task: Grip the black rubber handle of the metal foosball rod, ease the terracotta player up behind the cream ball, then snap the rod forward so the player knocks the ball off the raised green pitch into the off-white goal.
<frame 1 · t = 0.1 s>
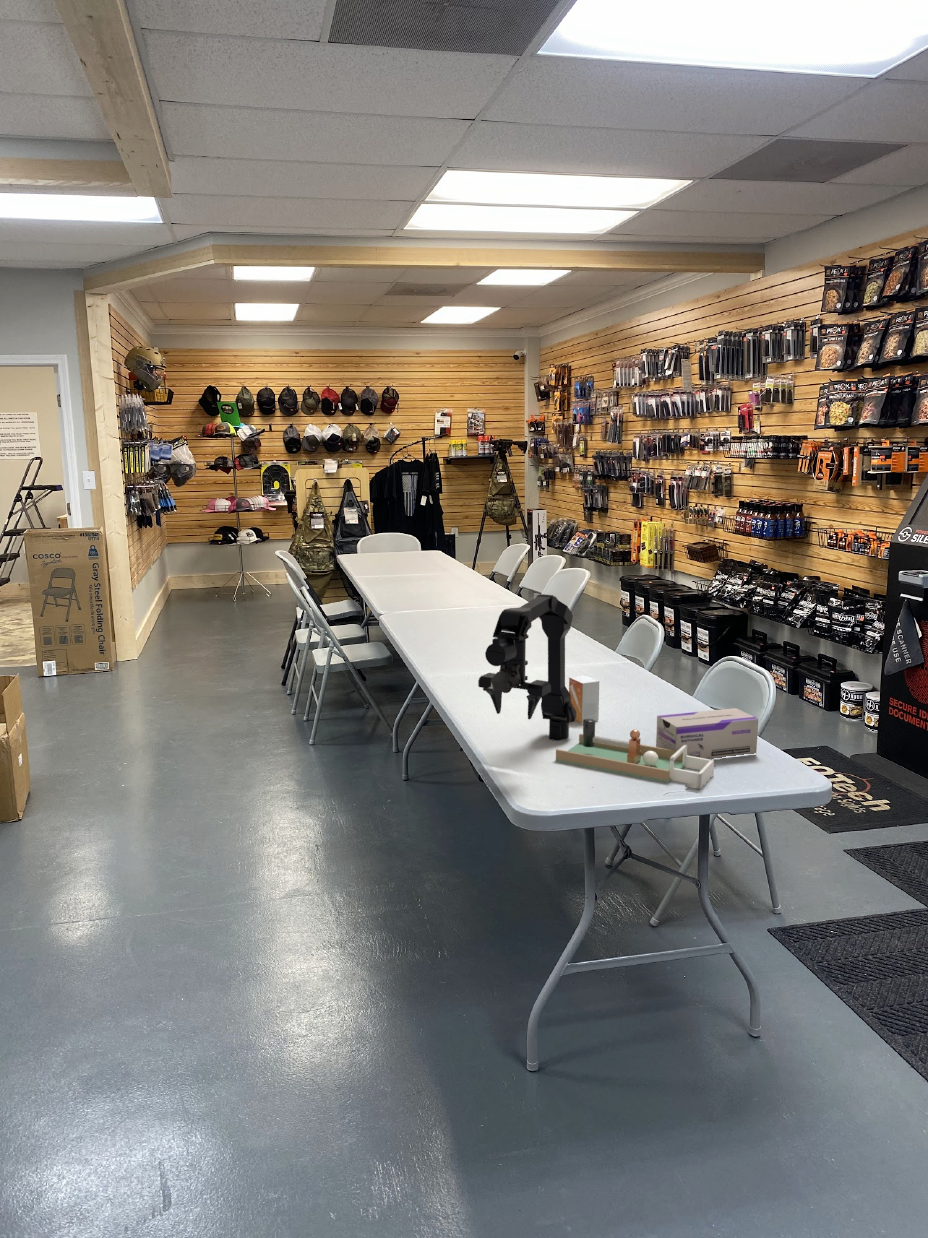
hand: (513, 716, 231), 15 cm above the table, tool pointing down, fingers open, 9 cm apart
pitch: (621, 765, 237), on the table
rod: (610, 740, 237), point 6 cm above the table, slide at 0.0 cm
goal: (691, 779, 227), on the table
ball: (650, 758, 232), point 3 cm above the table, touching pitch
surgical sutures box: (705, 755, 246), on the table
small box: (583, 719, 277), on the table
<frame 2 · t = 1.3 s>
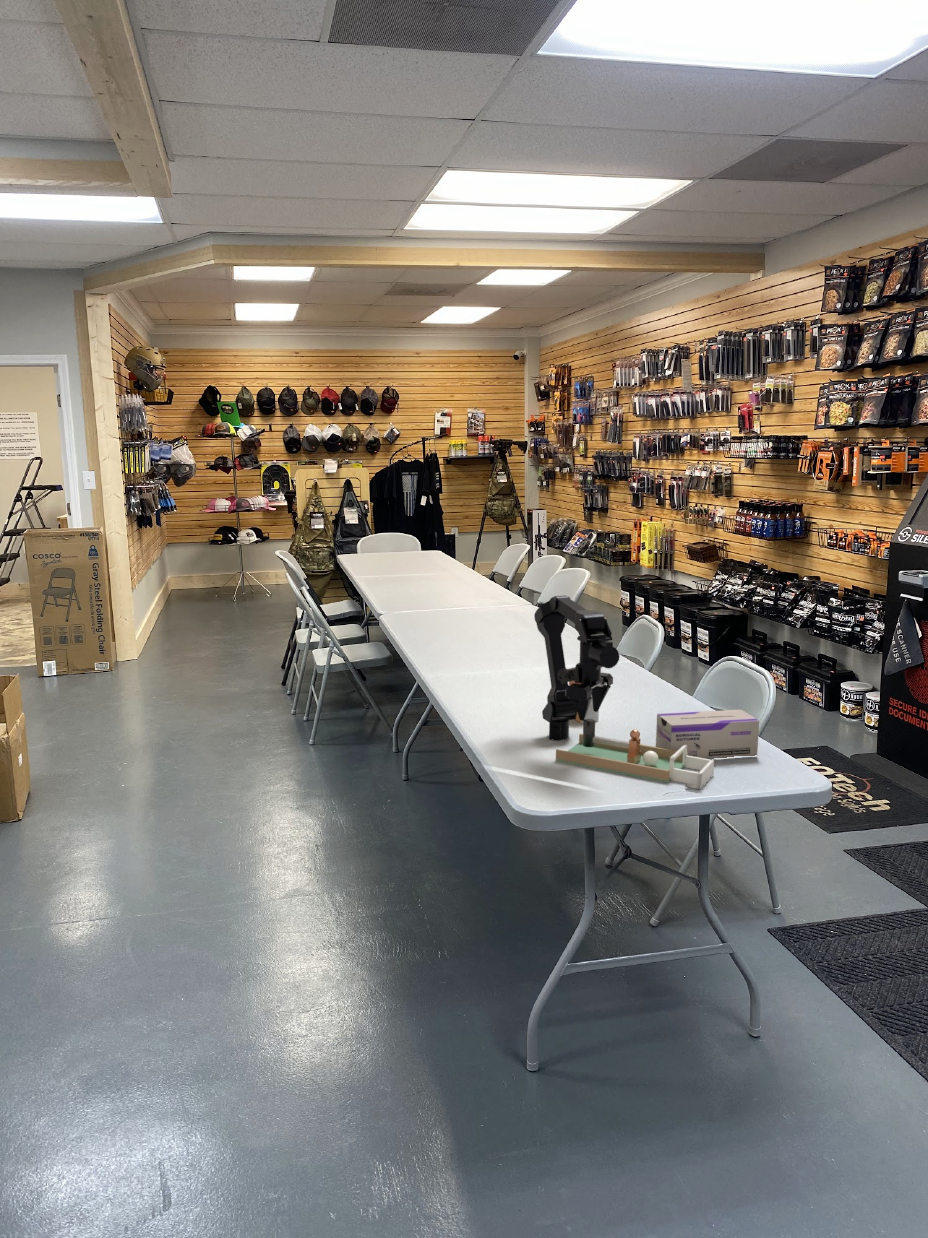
hand: (588, 715, 239), 12 cm above the table, tool pointing down, fingers open, 9 cm apart
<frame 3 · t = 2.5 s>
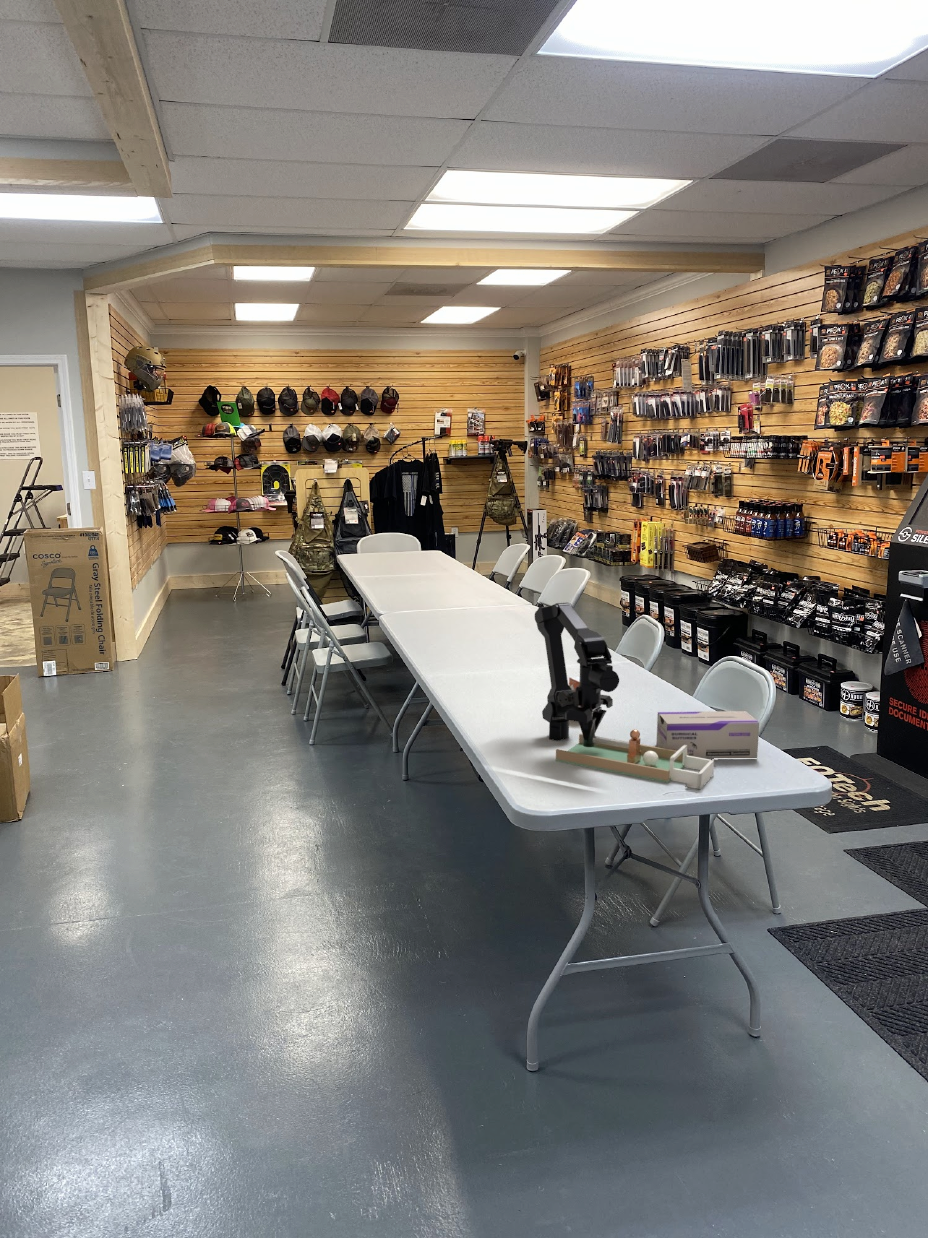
hand: (588, 738, 240), 6 cm above the table, tool pointing down, fingers closed on rod, 3 cm apart
rod: (610, 740, 237), point 6 cm above the table, slide at 0.0 cm, touching gripper
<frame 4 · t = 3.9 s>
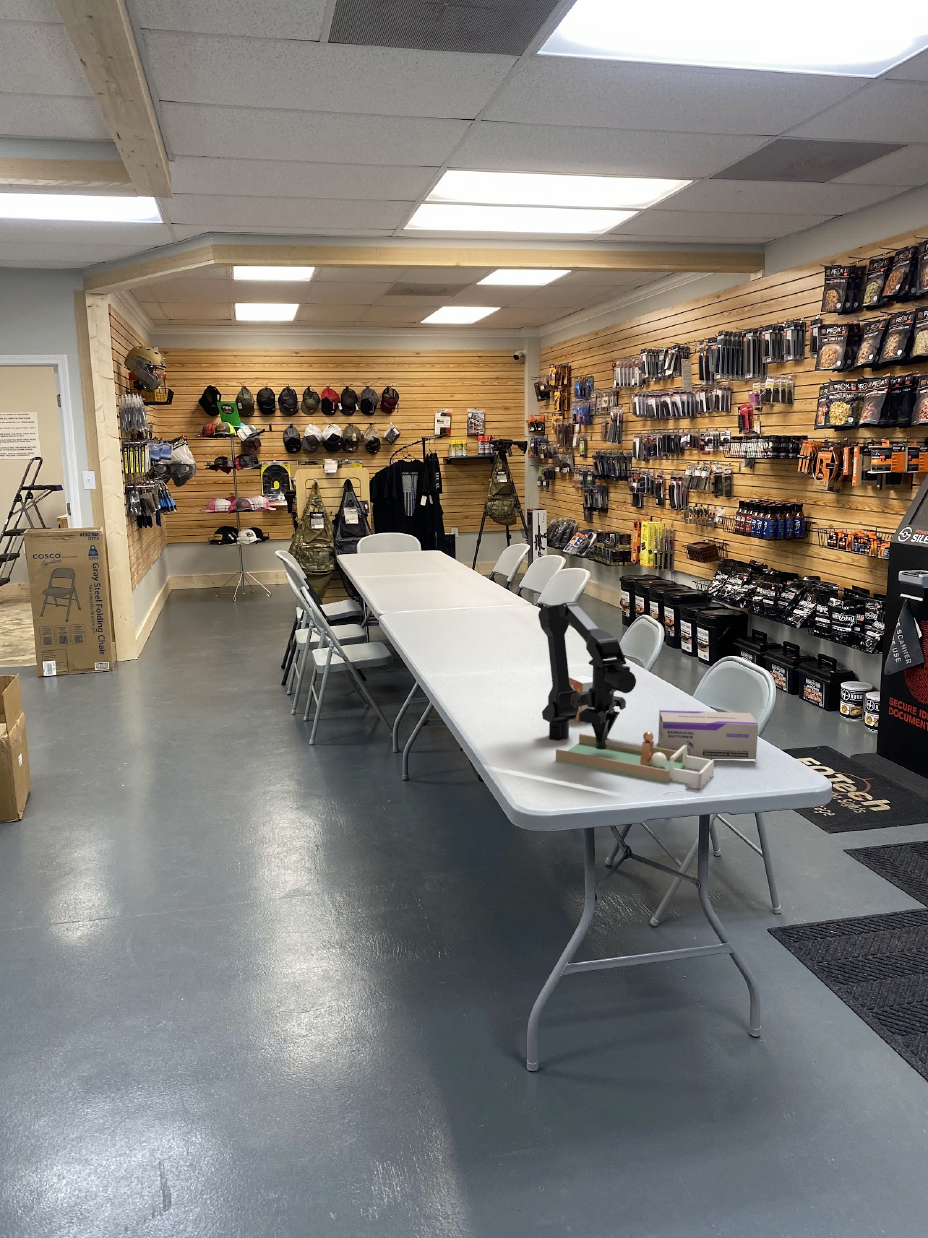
hand: (601, 740, 238), 6 cm above the table, tool pointing down, fingers closed on rod, 3 cm apart
rod: (623, 742, 235), point 6 cm above the table, slide at 3.7 cm, touching gripper
ball: (658, 760, 231), point 3 cm above the table, tilted 61°, touching pitch
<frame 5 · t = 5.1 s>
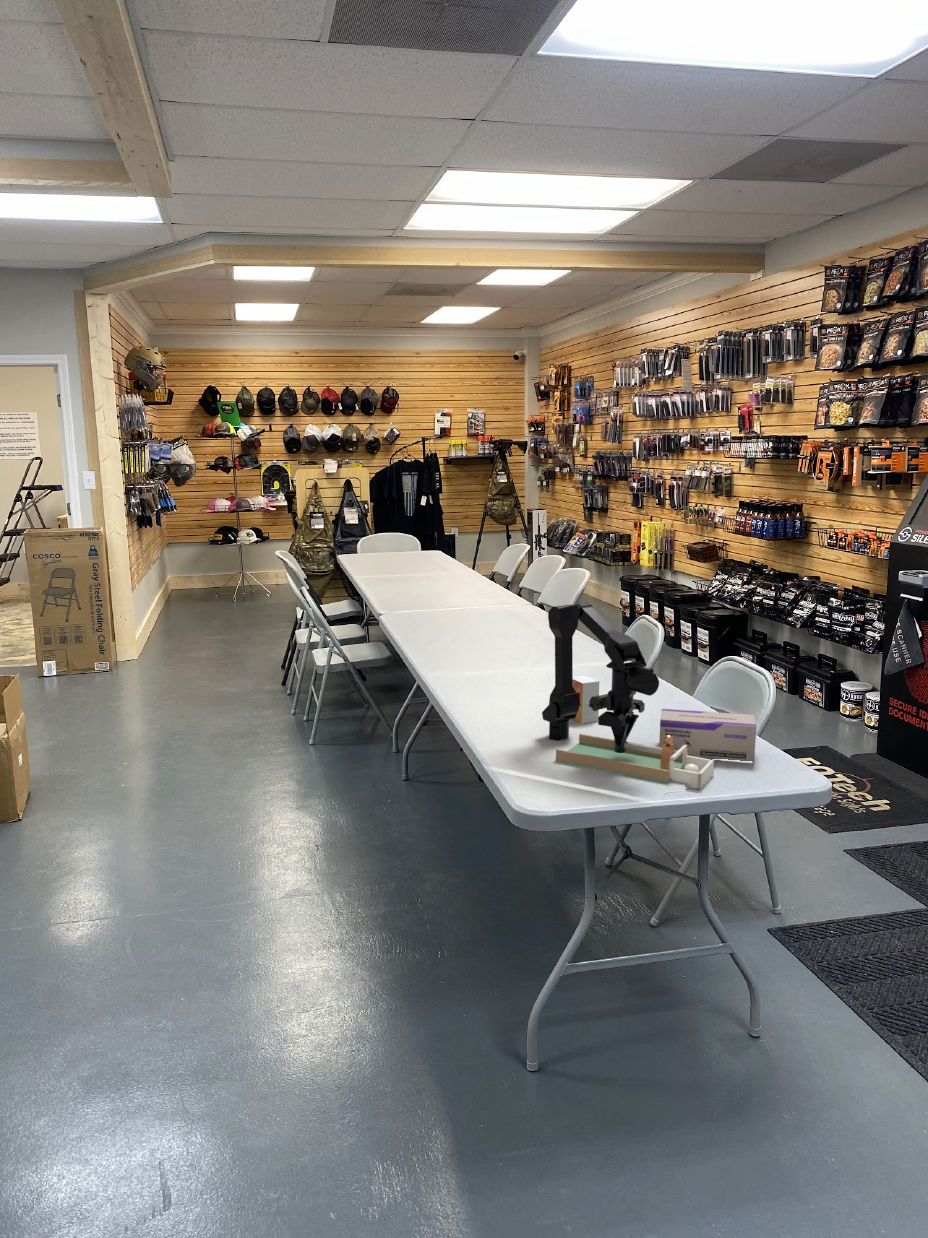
hand: (621, 743, 236), 6 cm above the table, tool pointing down, fingers closed on rod, 3 cm apart
rod: (643, 746, 232), point 6 cm above the table, slide at 9.0 cm, touching gripper
ball: (691, 771, 227), point 2 cm above the table, tilted 32°
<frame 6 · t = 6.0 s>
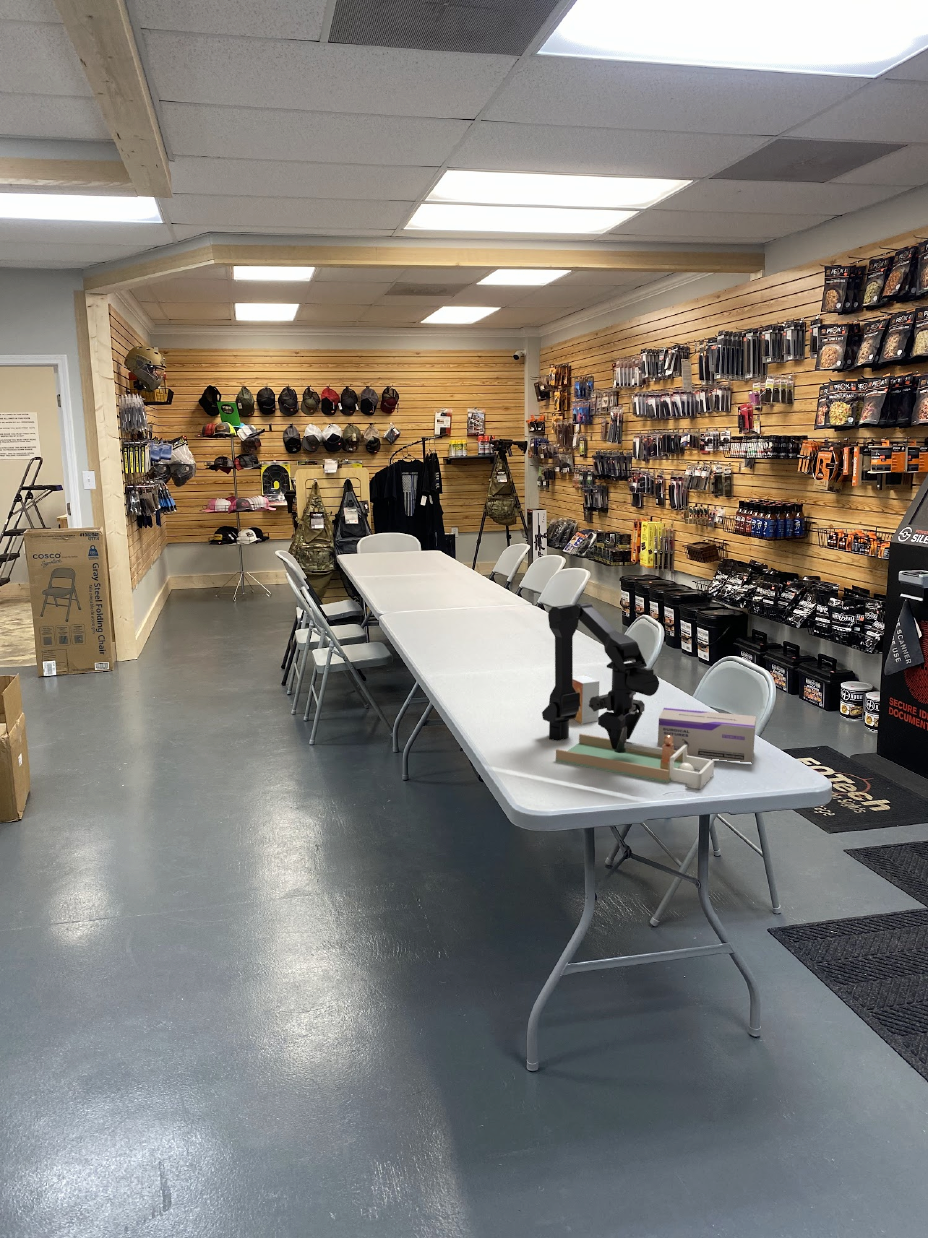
hand: (620, 744, 236), 6 cm above the table, tool pointing down, fingers open, 9 cm apart
rod: (643, 746, 232), point 6 cm above the table, slide at 9.0 cm
ball: (685, 770, 227), point 2 cm above the table, tilted 73°
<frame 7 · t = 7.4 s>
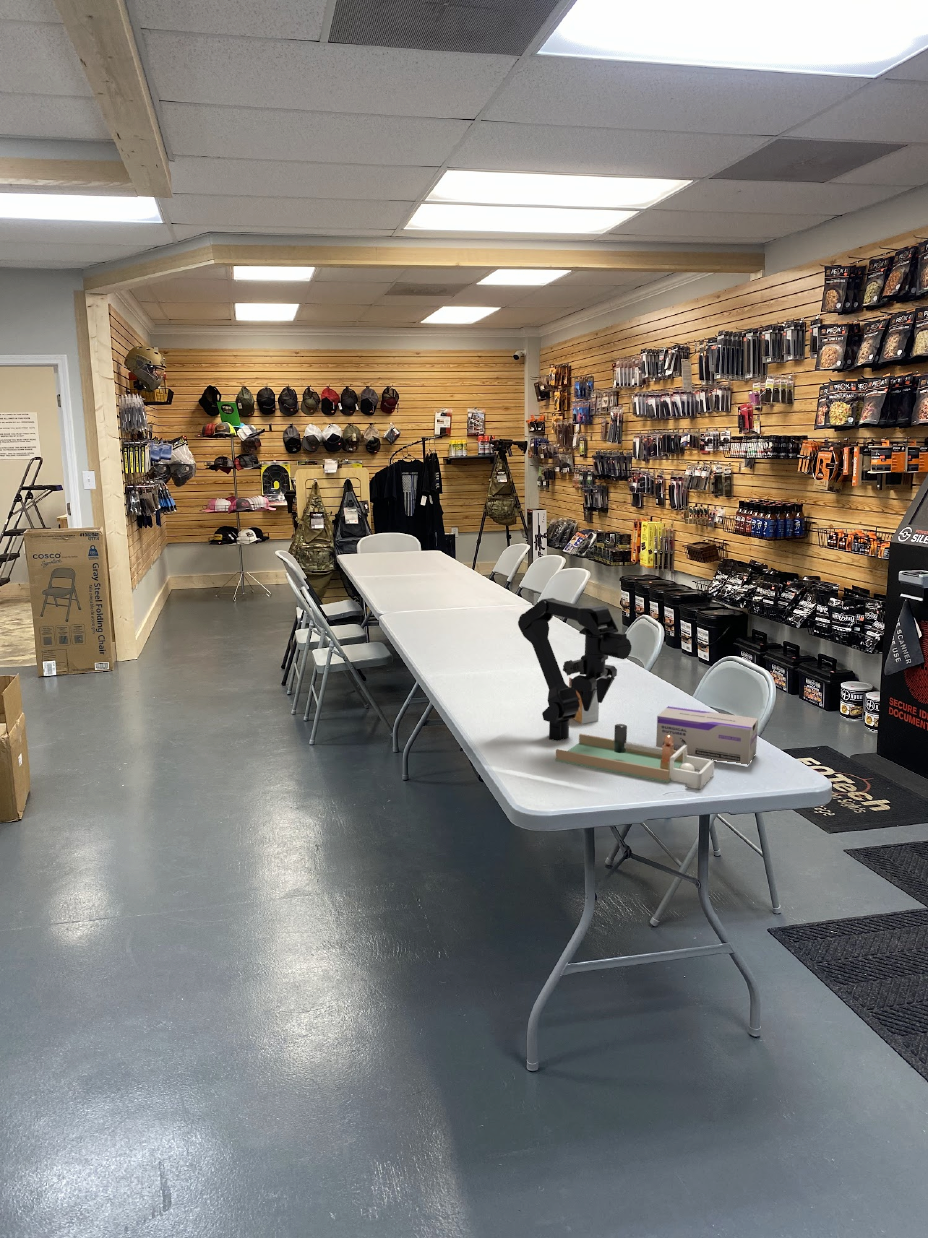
hand: (593, 706, 246), 13 cm above the table, tool pointing down, fingers open, 9 cm apart
ball: (686, 770, 227), point 2 cm above the table, tilted 67°
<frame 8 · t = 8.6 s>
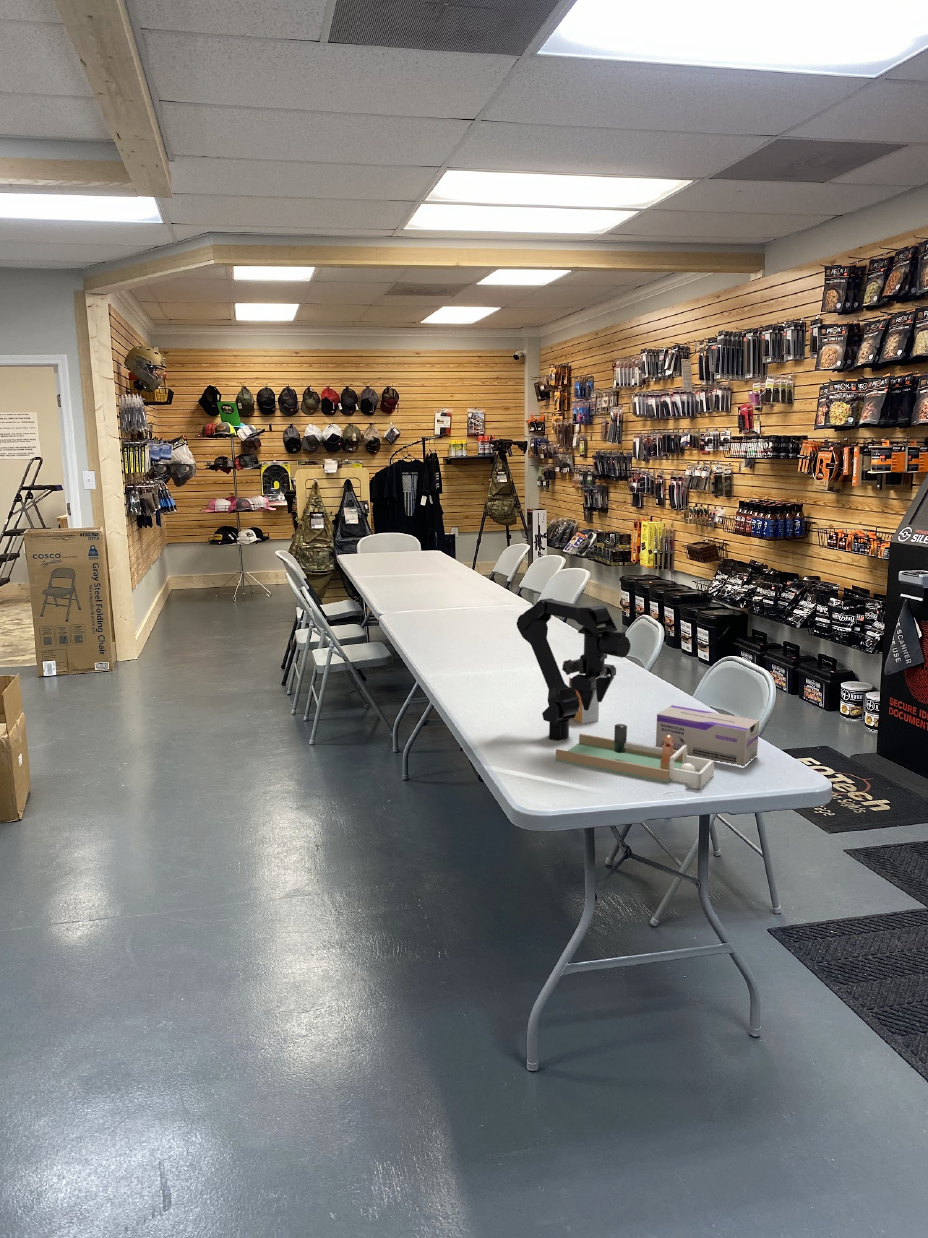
hand: (592, 706, 246), 13 cm above the table, tool pointing down, fingers open, 9 cm apart
ball: (687, 770, 227), point 2 cm above the table, tilted 61°
at the end: ball inside the target area on the goal (1.4 cm from its centre), point 2.0 cm above the goal's base; rod slide at 9.0 cm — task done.
